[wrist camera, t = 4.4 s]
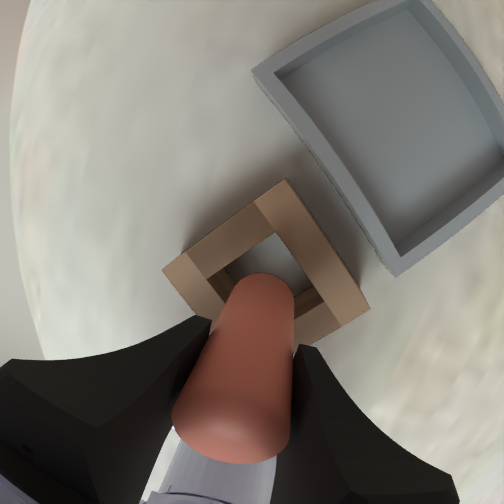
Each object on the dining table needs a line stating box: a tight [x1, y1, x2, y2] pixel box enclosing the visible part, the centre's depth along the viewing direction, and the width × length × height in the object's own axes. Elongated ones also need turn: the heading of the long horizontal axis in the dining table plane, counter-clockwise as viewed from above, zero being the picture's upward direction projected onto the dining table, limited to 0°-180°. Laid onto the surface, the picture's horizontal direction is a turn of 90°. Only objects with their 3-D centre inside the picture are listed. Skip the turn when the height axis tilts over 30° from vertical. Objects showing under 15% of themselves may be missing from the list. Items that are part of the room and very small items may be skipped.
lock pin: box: [171, 273, 294, 464], centre depth 11 cm, size 3×3×8 cm
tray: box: [251, 0, 504, 277], centre depth 14 cm, size 13×12×2 cm
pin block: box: [162, 178, 370, 354], centre depth 17 cm, size 8×8×3 cm
